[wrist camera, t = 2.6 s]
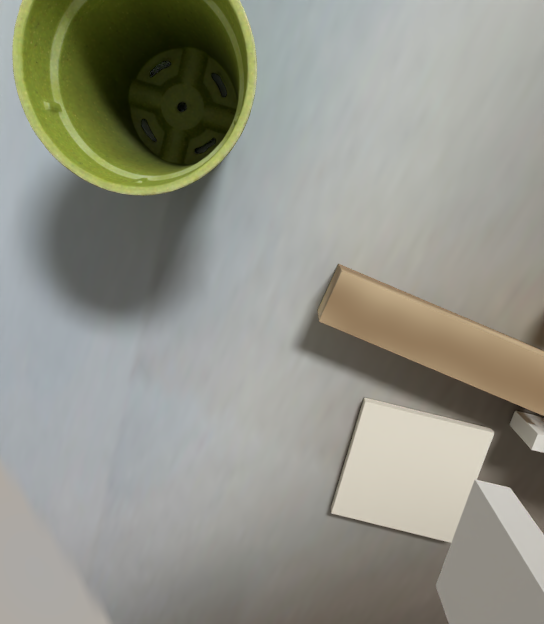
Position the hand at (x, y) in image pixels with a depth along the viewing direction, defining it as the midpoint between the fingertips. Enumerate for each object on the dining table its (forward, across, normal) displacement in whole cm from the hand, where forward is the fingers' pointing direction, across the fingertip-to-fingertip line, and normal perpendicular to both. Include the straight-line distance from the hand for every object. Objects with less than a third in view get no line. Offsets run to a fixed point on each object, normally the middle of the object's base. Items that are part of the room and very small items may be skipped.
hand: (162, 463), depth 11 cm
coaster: (+19, +12, -9) cm, 24 cm away
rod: (+20, +11, 0) cm, 22 cm away
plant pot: (+19, -6, +9) cm, 22 cm away
